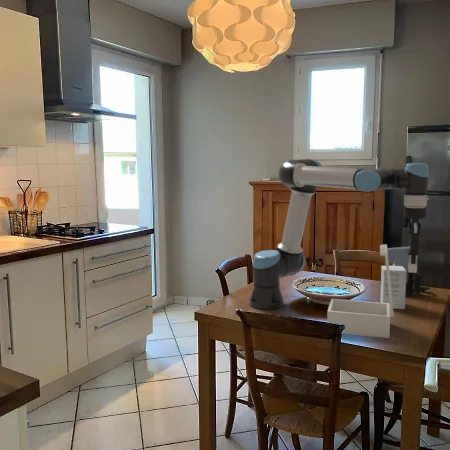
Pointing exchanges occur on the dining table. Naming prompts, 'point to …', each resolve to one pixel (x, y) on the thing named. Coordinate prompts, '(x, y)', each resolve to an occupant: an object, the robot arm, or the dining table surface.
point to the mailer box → (360, 317)
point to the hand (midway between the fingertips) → (412, 270)
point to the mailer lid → (393, 257)
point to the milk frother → (409, 280)
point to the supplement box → (394, 286)
